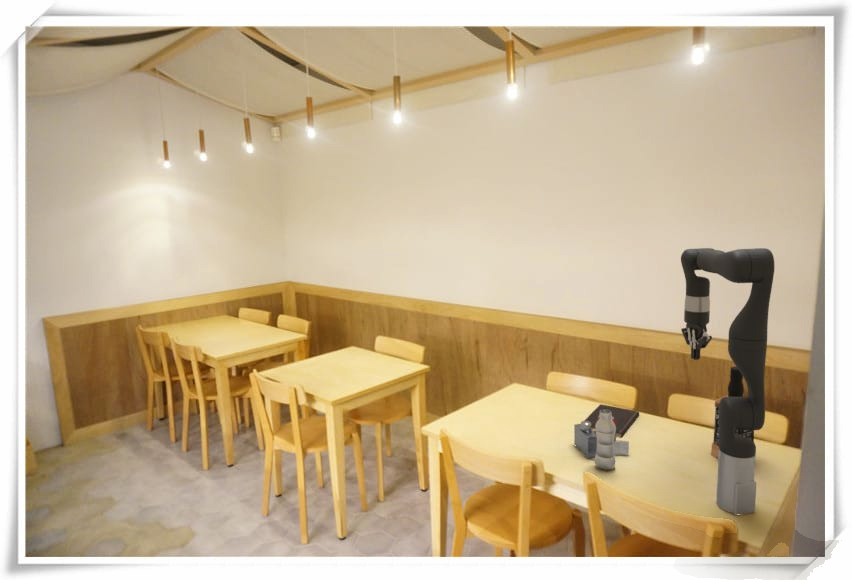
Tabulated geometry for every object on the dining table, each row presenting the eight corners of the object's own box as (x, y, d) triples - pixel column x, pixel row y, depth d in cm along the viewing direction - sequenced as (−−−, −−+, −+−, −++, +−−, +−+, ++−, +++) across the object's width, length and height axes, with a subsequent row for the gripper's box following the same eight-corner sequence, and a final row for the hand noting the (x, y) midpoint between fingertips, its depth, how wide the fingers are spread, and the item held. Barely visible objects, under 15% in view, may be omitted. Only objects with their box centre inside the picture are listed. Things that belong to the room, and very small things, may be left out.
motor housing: (610, 438, 207) (610, 411, 205) (629, 455, 193) (630, 426, 191) (572, 443, 204) (572, 415, 202) (589, 461, 191) (589, 431, 189)
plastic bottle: (599, 460, 191) (599, 406, 187) (618, 466, 186) (619, 410, 183) (591, 468, 186) (591, 412, 182) (611, 474, 181) (611, 417, 178)
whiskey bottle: (708, 453, 191) (712, 365, 185) (730, 447, 195) (734, 361, 189) (734, 467, 182) (740, 374, 176) (756, 460, 185) (762, 369, 179)
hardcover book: (580, 429, 216) (580, 424, 216) (600, 409, 234) (600, 404, 234) (621, 439, 207) (622, 433, 206) (639, 416, 225) (639, 411, 225)
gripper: (721, 311, 176) (718, 363, 179) (694, 303, 189) (692, 352, 192) (699, 313, 175) (698, 366, 178) (674, 305, 188) (673, 354, 191)
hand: (695, 358), depth 185 cm, fingers closed
